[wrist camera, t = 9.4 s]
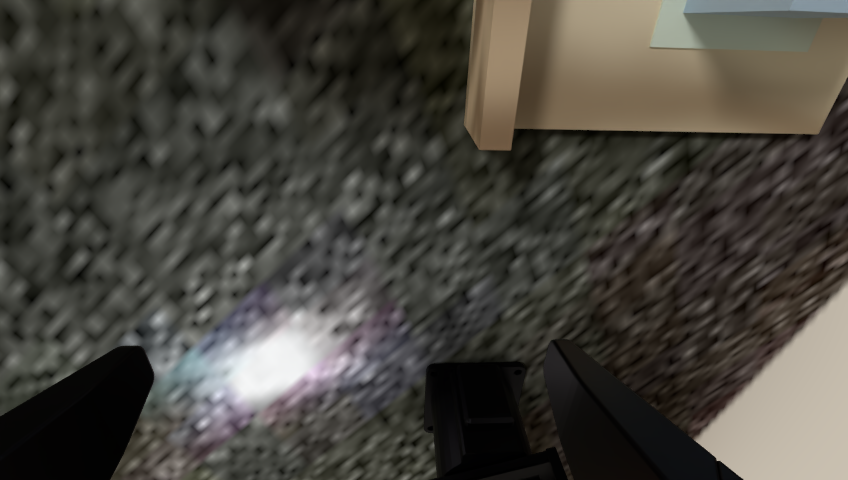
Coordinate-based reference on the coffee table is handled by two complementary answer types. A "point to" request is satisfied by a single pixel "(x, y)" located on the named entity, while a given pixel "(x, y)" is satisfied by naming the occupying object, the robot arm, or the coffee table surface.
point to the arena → (647, 69)
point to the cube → (771, 8)
